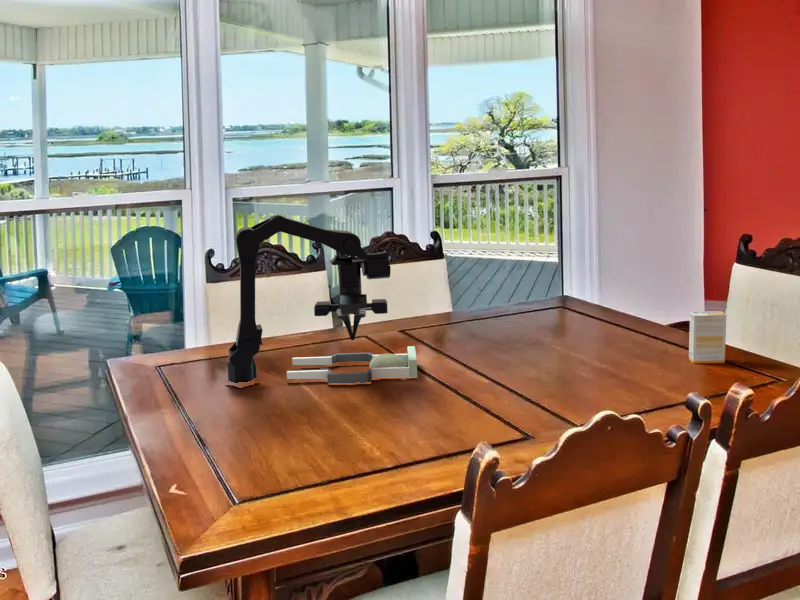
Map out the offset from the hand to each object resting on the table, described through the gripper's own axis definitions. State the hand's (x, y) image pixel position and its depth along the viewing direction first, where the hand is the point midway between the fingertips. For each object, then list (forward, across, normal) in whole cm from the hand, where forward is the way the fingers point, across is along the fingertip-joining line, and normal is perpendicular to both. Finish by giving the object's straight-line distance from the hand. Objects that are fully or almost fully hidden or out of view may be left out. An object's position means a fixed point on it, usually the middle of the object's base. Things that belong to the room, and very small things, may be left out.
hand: (352, 339), depth 216 cm
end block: (+9, +15, 0) cm, 18 cm away
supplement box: (+10, +93, -1) cm, 93 cm away
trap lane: (+9, -1, 0) cm, 9 cm away
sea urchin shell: (+10, +9, 0) cm, 13 cm away
